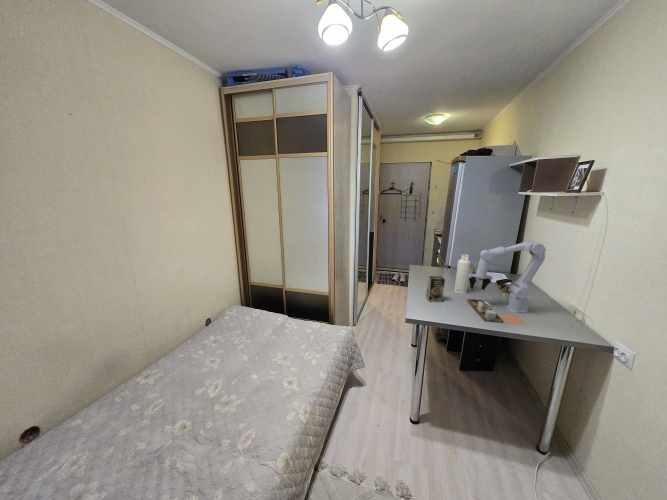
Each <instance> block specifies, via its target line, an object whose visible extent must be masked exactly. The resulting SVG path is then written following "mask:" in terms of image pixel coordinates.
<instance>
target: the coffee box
mask: <svg viewBox="0 0 667 500" xmlns="http://www.w3.org/2000/svg"><path fill="white" fill-rule="evenodd" d="M445 283H446V279H445V278H444V277H442V276H438V275H437V276H436V275H435V276H433V275H432V276H430V275H429V276H427V286H426V294H425V295H426V296H425V298H426V300H427V301H428V302H433V303H434V302H435V303H439V302H441V303H442V302H443V299H444V298H443V296H444V289H445Z"/></svg>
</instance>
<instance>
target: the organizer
mask: <svg viewBox="0 0 667 500" xmlns="http://www.w3.org/2000/svg"><path fill="white" fill-rule="evenodd" d="M478 301H481V302H485V301H484V300H483V299H477V298H475V299H474V298H466V302H467V303H468V304H469V306H470V307H471V308H472V309H473V310H474V311H475V312H476V313H477V315H478V316H479V317H480V318H481V319H482V320H483V321H484V322H486V323H489V322H490V323H500V324H502V323H504V320H503V319H502V318H501V317H500V316H499V314H497V313H496V318H495V319H487V318H486V317H485V312H482V311H479V310H478V309H477V307H478ZM490 310H493V309H492V307H490Z"/></svg>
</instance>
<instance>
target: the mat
mask: <svg viewBox="0 0 667 500" xmlns="http://www.w3.org/2000/svg"><path fill="white" fill-rule="evenodd" d="M498 316H499V317H500V318H501V319H502V320H503V322H505V323H506V324H509V325H519V326H520V325H522V326H527V325H528V324H527V323H526V322H525V321H523V320H522V319H521V318H520V317H518V315H509V314H508V315H506V314H498Z"/></svg>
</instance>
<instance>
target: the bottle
mask: <svg viewBox="0 0 667 500" xmlns="http://www.w3.org/2000/svg"><path fill="white" fill-rule="evenodd" d="M469 258H470V255H469V254H465V253H462V254H461V256H460V259H458V261H457V265H456V275H455V282H454V283H455V284H454V292H455V293H456V294H463V295H464V294H467V290H468V284H469V282H468V278H469V277H468V276H469V271H470V265H471V262H472V261H470V260H469Z"/></svg>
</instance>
